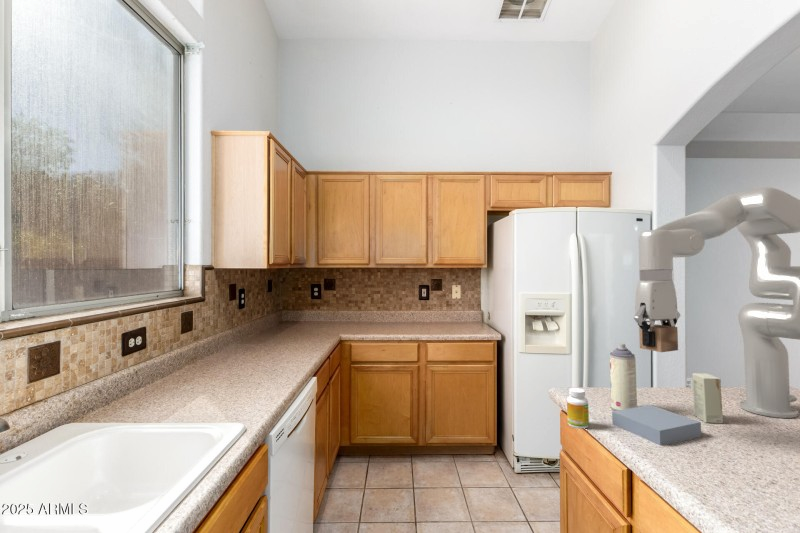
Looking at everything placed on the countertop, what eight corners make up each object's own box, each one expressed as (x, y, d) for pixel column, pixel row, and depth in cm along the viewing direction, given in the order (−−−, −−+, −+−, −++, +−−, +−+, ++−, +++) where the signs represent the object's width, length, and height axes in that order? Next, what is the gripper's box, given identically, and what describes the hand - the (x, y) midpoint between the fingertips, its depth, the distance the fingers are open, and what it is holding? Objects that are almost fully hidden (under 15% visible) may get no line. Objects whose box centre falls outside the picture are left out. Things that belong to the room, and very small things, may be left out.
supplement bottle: (588, 430, 104) (587, 394, 105) (566, 427, 107) (565, 391, 107) (589, 423, 109) (588, 388, 109) (568, 420, 112) (567, 386, 112)
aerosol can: (618, 404, 123) (616, 341, 124) (641, 410, 118) (639, 344, 118) (606, 409, 120) (604, 343, 120) (630, 415, 114) (627, 347, 114)
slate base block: (650, 418, 112) (650, 404, 113) (701, 438, 99) (700, 422, 99) (612, 426, 108) (612, 411, 108) (660, 447, 95) (659, 430, 95)
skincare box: (723, 424, 106) (722, 379, 106) (705, 423, 107) (704, 378, 107) (710, 415, 113) (708, 372, 113) (693, 414, 114) (691, 372, 114)
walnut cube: (656, 346, 107) (655, 324, 107) (678, 350, 101) (677, 327, 101) (639, 348, 105) (639, 325, 105) (661, 352, 99) (660, 328, 99)
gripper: (665, 276, 110) (667, 340, 109) (619, 277, 104) (621, 345, 104) (693, 276, 102) (695, 345, 102) (645, 277, 97) (647, 350, 97)
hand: (658, 344), depth 103 cm, fingers closed on walnut cube, 6 cm apart
